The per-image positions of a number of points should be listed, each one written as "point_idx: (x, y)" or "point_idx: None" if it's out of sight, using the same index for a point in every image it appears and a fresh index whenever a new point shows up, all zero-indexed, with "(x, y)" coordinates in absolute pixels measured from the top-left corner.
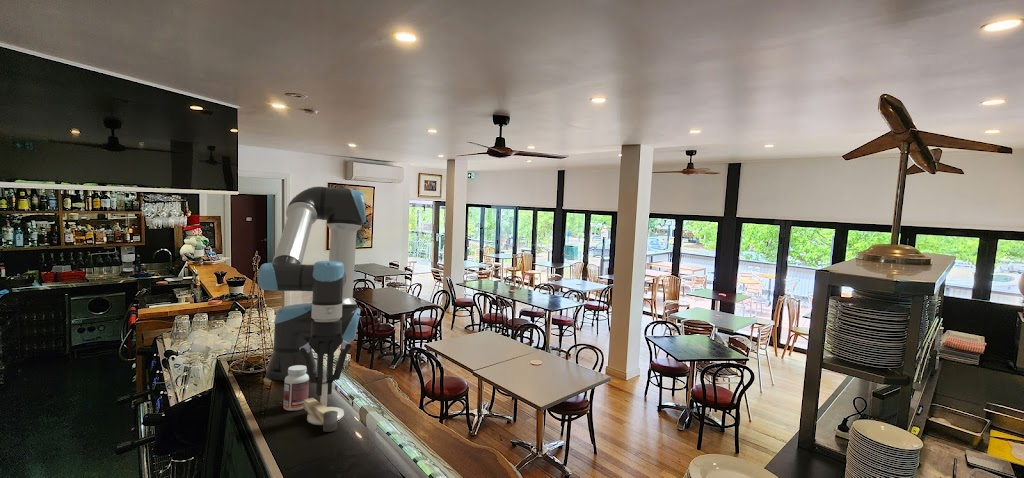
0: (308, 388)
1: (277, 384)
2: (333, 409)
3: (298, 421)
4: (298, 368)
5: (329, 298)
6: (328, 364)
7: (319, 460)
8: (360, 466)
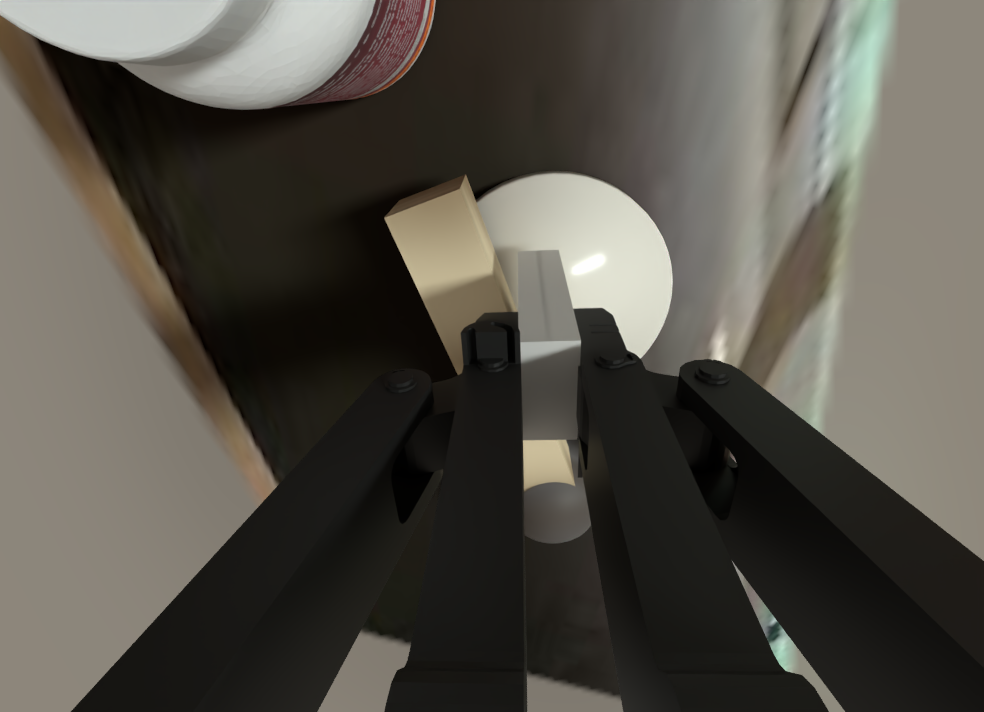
0: None
1: None
2: (612, 243)
3: (386, 291)
4: None
5: None
6: (613, 648)
7: None
8: (596, 681)
